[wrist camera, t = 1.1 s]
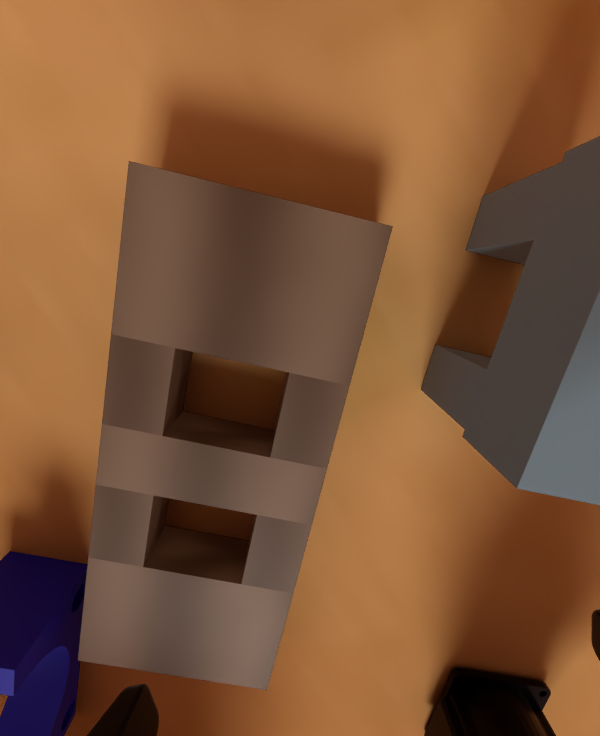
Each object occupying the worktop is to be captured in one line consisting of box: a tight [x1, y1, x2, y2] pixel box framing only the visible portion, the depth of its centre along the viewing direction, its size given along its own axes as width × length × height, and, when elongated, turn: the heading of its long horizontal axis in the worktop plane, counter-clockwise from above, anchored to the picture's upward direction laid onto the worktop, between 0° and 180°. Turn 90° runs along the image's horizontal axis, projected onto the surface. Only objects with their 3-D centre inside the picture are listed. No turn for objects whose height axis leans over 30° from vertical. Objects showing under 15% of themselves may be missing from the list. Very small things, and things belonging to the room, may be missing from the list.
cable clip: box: [0, 551, 88, 736], centre depth 20 cm, size 12×4×6 cm, turn 167°
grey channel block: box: [421, 136, 600, 505], centre depth 13 cm, size 3×10×8 cm, turn 167°
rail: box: [78, 161, 393, 690], centre depth 18 cm, size 10×24×3 cm, turn 167°
